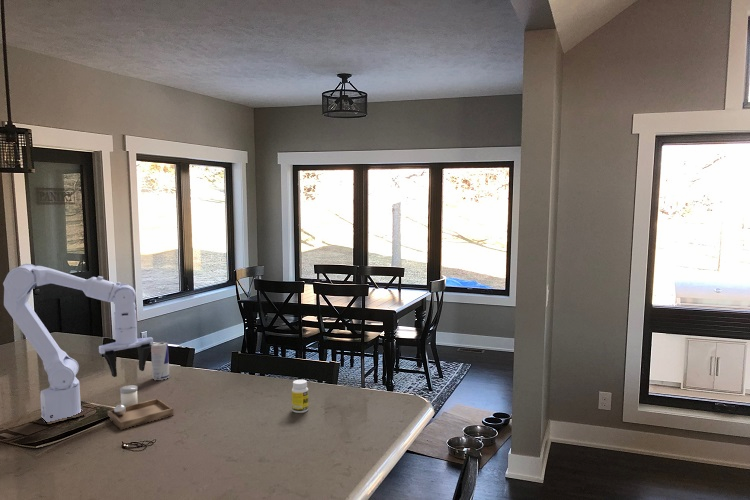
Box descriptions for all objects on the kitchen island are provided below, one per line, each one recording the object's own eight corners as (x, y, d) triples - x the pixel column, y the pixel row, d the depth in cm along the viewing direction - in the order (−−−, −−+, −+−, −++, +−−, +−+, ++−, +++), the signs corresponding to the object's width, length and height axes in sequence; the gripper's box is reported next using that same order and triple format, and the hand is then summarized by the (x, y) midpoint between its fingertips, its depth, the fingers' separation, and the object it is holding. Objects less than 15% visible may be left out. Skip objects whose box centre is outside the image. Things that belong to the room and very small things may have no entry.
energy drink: (172, 375, 186) (170, 341, 185) (164, 381, 180) (163, 346, 179) (157, 375, 186) (155, 341, 185) (149, 380, 181) (147, 345, 180)
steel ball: (116, 418, 148) (115, 407, 147) (112, 415, 150) (112, 404, 149) (127, 415, 150) (127, 404, 149) (124, 412, 152) (123, 402, 152)
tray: (121, 430, 142) (120, 422, 142) (107, 418, 150) (107, 411, 150) (173, 415, 151) (173, 408, 151) (158, 404, 159) (158, 398, 159)
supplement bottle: (305, 413, 152) (304, 384, 151) (289, 412, 153) (289, 383, 152) (310, 407, 157) (310, 379, 156) (295, 406, 158) (294, 378, 157)
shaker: (124, 412, 154) (123, 391, 153) (118, 407, 157) (117, 387, 157) (140, 408, 157) (139, 388, 157) (135, 403, 160) (134, 384, 160)
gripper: (103, 333, 147) (106, 382, 148) (156, 325, 157) (158, 370, 158) (95, 329, 152) (97, 376, 154) (147, 321, 162) (149, 365, 164)
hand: (128, 373), depth 156 cm, fingers open, 7 cm apart
